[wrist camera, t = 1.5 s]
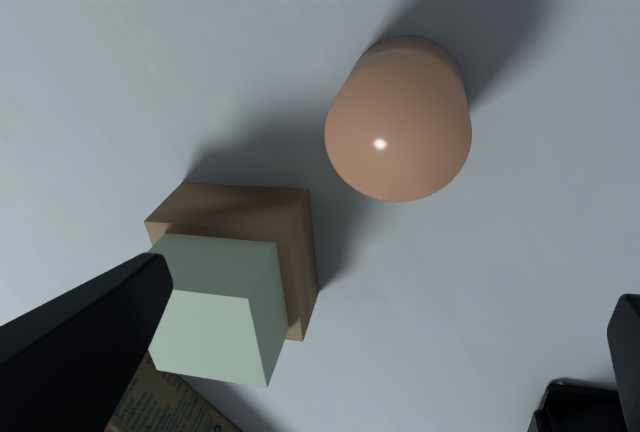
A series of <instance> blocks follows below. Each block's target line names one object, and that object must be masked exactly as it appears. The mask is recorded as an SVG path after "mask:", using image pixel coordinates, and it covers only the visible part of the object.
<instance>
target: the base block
mask: <svg viewBox="0 0 640 432" xmlns="http://www.w3.org/2000/svg"><path fill="white" fill-rule="evenodd" d="M144 223H145V226H146V229H147V232H148V234H149V237H150V240H151V243H152V245H154V244H155V243H156V242H157V241H158V240H159V239H160V237H161V236H162V235H163V234H164V233H171V234H182V235H194V236H205V237H216V238H228V239H239V240H251V241H262V242H273V243H276V246H277V252H278V259H279V266H280V272H281V279H282V286H283V292H284V299H285V306H286V312H287V319H288V326H289V330H288V333H287V335H286V338H285V339H287V340H295V341H302V342H303V340H304V337H305V334H306V330H307V327H308V324H309V321H310V318H311V315H312V312H313V309H314V306H315V302H316V299H317V296H318V293H319V289H318V280H317V270H316V260H315V250H314V241H313V231H312V221H311V211H310V202H309V192H308V189H299V188H278V187H257V186H236V185H216V184H195V183H181V184H180V185H179V186H178V187H177V188H176V189H175V190H174V191H173V192H172V193H171V194H170V195H169V196H168V197H167V198H166V199H165V200H164V201H163V203H162V204H161V205H160V206H159V207H158V208H157V209H156V210H155V211H154V212H153V213H152V214H151V215H150V216H149V217H148V218H147V219H146V220H145V221H144Z"/></svg>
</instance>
